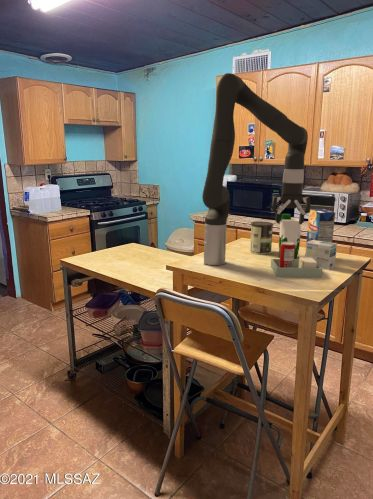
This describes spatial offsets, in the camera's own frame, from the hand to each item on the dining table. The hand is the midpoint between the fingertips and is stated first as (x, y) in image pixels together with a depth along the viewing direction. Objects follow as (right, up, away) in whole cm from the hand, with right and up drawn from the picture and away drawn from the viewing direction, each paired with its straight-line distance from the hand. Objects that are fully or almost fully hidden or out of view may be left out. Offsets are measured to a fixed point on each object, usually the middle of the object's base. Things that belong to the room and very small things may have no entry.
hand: (289, 223), depth 150 cm
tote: (+3, -19, +5) cm, 20 cm away
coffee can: (-4, -11, +37) cm, 39 cm away
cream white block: (+8, -19, +4) cm, 21 cm away
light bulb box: (+16, -18, +13) cm, 27 cm away
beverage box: (+20, -14, +26) cm, 35 cm away
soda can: (0, -19, +5) cm, 20 cm away
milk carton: (+7, -14, +27) cm, 31 cm away
